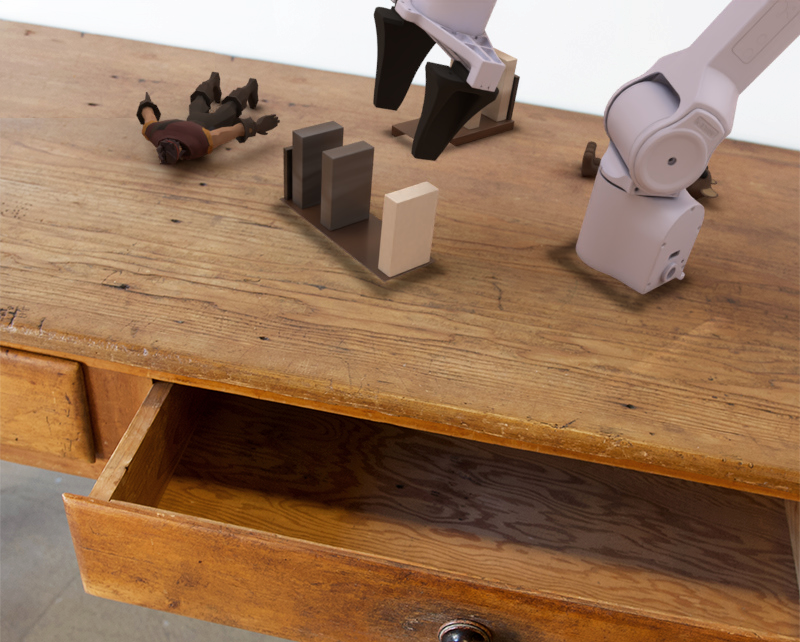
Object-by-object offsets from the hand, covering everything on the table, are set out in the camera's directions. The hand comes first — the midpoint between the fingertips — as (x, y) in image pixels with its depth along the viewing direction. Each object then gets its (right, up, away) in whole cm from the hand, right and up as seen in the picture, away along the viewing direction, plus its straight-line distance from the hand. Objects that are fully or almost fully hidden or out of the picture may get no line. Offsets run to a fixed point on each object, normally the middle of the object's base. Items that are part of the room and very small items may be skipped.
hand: (403, 131), depth 61 cm
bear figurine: (+27, +2, +22) cm, 35 cm away
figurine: (-21, +6, +20) cm, 30 cm away
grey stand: (-5, -7, +9) cm, 12 cm away
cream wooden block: (0, -10, +5) cm, 11 cm away
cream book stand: (+6, +10, +28) cm, 30 cm away
